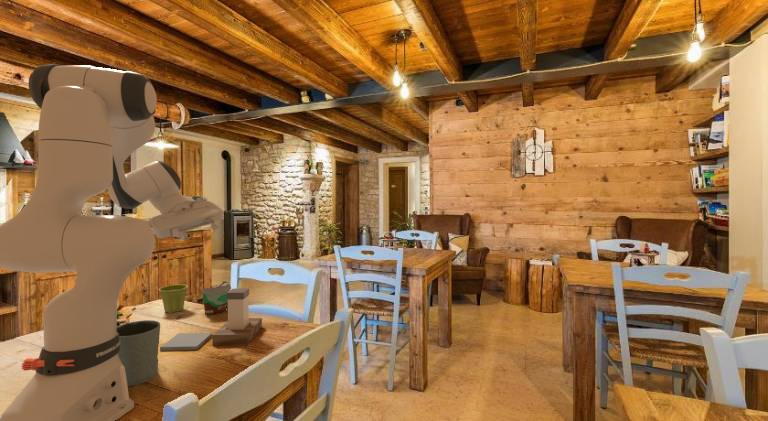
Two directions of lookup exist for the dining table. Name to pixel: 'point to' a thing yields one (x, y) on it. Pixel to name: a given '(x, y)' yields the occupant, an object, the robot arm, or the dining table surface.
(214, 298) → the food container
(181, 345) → the mat
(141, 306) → the dining table surface
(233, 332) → the socket block
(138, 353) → the grey green bucket
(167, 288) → the plant pot
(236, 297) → the plug
